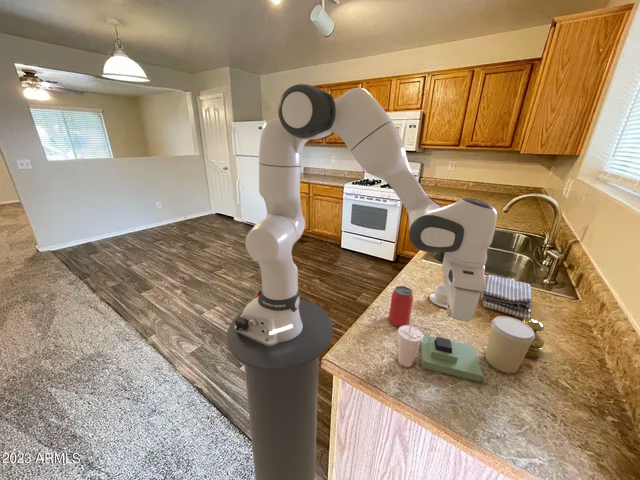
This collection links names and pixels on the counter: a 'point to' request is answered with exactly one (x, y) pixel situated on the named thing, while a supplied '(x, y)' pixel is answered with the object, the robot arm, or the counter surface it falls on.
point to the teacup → (439, 296)
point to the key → (443, 344)
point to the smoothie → (408, 343)
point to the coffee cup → (508, 343)
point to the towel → (507, 296)
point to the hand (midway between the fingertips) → (450, 313)
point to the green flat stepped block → (451, 359)
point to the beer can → (401, 306)
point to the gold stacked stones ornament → (538, 341)
